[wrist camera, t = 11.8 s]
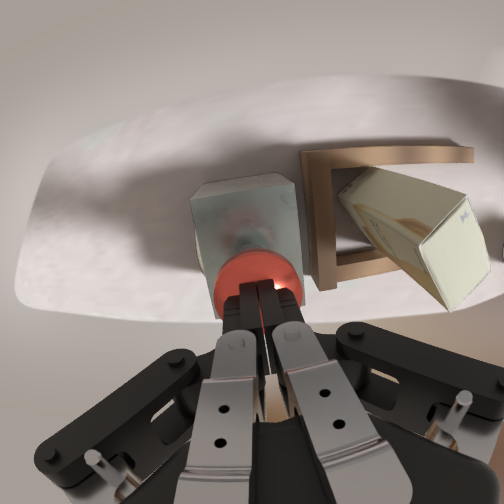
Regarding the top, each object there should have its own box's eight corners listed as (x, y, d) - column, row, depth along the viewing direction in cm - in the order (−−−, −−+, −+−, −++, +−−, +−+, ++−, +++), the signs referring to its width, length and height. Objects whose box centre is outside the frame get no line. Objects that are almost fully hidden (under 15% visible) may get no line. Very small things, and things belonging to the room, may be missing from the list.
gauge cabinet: (277, 172, 23) (294, 183, 16) (287, 264, 26) (305, 305, 19) (197, 184, 23) (182, 201, 16) (215, 275, 26) (209, 320, 19)
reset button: (284, 224, 16) (299, 249, 12) (290, 288, 17) (305, 327, 14) (211, 235, 16) (205, 264, 12) (224, 299, 17) (222, 339, 14)
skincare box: (334, 195, 24) (413, 243, 12) (370, 164, 23) (466, 187, 11) (373, 248, 26) (450, 317, 14) (405, 218, 25) (494, 270, 13)
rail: (460, 146, 22) (479, 148, 20) (457, 247, 26) (474, 257, 23) (299, 151, 22) (308, 152, 19) (310, 275, 26) (319, 291, 23)
